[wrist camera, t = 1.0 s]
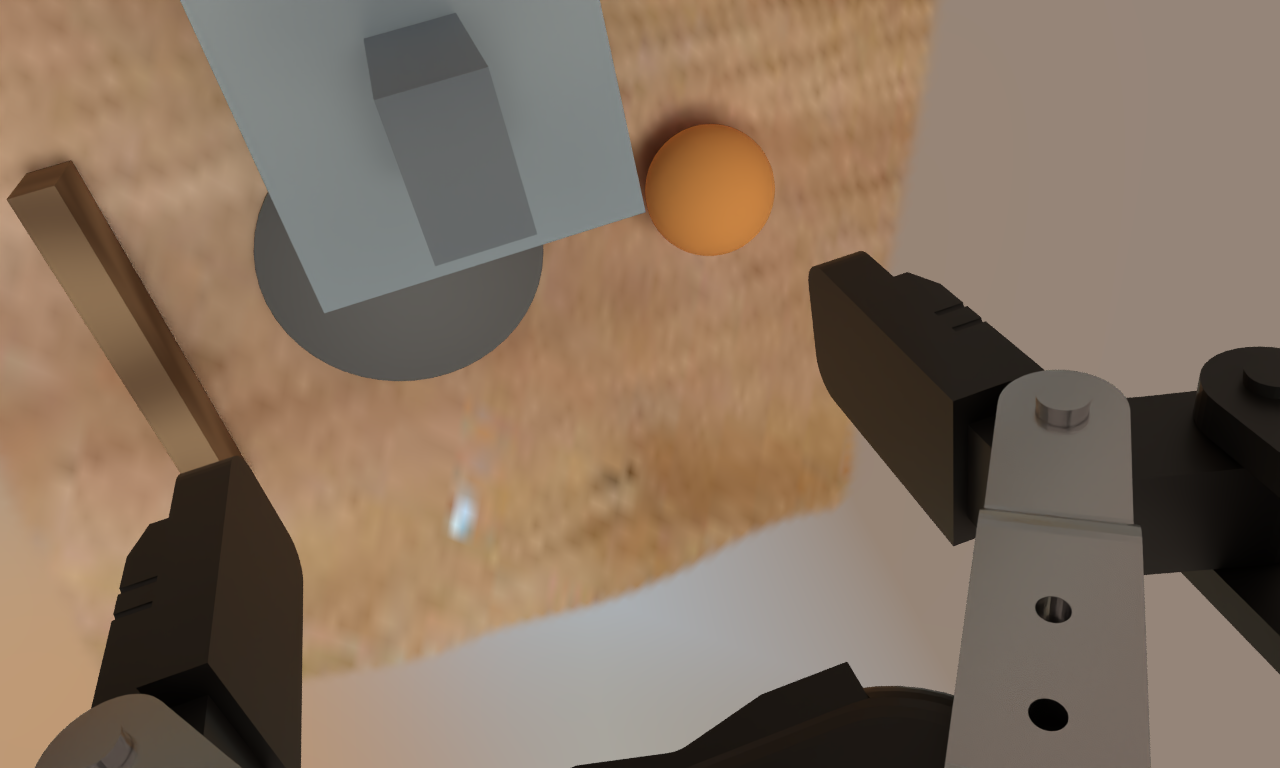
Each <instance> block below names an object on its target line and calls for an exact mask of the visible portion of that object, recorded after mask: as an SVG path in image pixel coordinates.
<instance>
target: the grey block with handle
mask: <svg viewBox="0 0 1280 768" xmlns="http://www.w3.org/2000/svg"><path fill="white" fill-rule="evenodd" d="M180 1H181V3H182V6H183V8H184V10H185V12H186V14H187V16H188V19H189V21H190V23H191V25H192V27H193V29H194V32H195V34H196V36H197V38H198V40H199V42H200V45H201V47H202V49H203V51H204V53H205V56H206V58H207V60H208V62H209V64H210V66H211V69H212V71H213V73H214V75H215V77H216V79H217V82H218V84H219V86H220V88H221V90H222V92H223V95H224V97H225V99H226V101H227V103H228V105H229V108H230V110H231V112H232V114H233V116H234V118H235V121H236V123H237V125H238V127H239V129H240V131H241V134H242V136H243V138H244V140H245V142H246V144H247V147H248V149H249V151H250V153H251V155H252V158H253V160H254V162H255V164H256V166H257V168H258V171H259V173H260V175H261V177H262V179H263V181H264V184H265V186H266V188H267V190H268V192H269V194H270V197H271V199H272V201H273V203H274V205H275V207H276V210H277V212H278V214H279V216H280V218H281V220H282V223H283V225H284V227H285V229H286V231H287V233H288V236H289V238H290V240H291V242H292V244H293V247H294V249H295V251H296V253H297V255H298V257H299V260H300V262H301V264H302V266H303V268H304V270H305V273H306V275H307V277H308V279H309V281H310V283H311V286H312V288H313V290H314V292H315V294H316V296H317V299H318V301H319V303H320V305H321V307H322V309H323V312H324V313H327V312H330V311H333V310H337V309H340V308H343V307H346V306H349V305H352V304H356V303H359V302H362V301H365V300H368V299H371V298H375V297H378V296H381V295H384V294H387V293H391V292H394V291H397V290H400V289H403V288H406V287H410V286H413V285H416V284H419V283H422V282H425V281H429V280H432V279H435V278H438V277H441V276H444V275H448V274H451V273H454V272H457V271H460V270H464V269H467V268H470V267H473V266H476V265H479V264H483V263H486V262H489V261H492V260H495V259H498V258H502V257H505V256H508V255H511V254H514V253H518V252H521V251H524V250H527V249H530V248H533V247H537V246H540V245H543V244H546V243H549V242H552V241H556V240H559V239H562V238H565V237H568V236H572V235H575V234H578V233H581V232H584V231H587V230H591V229H594V228H597V227H600V226H603V225H606V224H610V223H613V222H616V221H619V220H622V219H625V218H629V217H632V216H635V215H638V214H641V213H645V207H644V202H643V198H642V193H641V189H640V184H639V179H638V175H637V170H636V165H635V161H634V156H633V152H632V147H631V142H630V138H629V133H628V129H627V124H626V119H625V115H624V110H623V106H622V101H621V96H620V92H619V87H618V82H617V78H616V73H615V69H614V64H613V59H612V55H611V50H610V46H609V41H608V36H607V32H606V27H605V23H604V18H603V13H602V9H601V4H600V0H180Z"/></svg>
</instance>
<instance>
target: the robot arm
mask: <svg viewBox="0 0 1280 768" xmlns="http://www.w3.org/2000/svg"><path fill="white" fill-rule="evenodd" d="M808 281H809V292H810V301H811V311H812V320H813V329H814V339H815V348H816V357H817V363H818V367H819V371H820V374H821V377H822V379H823V382H824V384H825V386H826V388H827V390H828V392H829V394H830V395H831V397H832V398H833V400H834V401H835V402H836V403H837V405H838V406H839V407H840V408H841V409H842V411H843V412H844V413H845V414H846V416H847V417H848V418H849V419H850V420H851V422H852V423H853V424H854V425H855V427H856V428H857V429H858V430H859V431H860V433H861V434H862V435H863V436H864V438H865V439H866V440H867V441H868V442H869V444H870V445H871V446H872V447H873V449H874V450H875V451H876V452H877V453H878V455H879V456H880V457H881V458H882V459H883V461H884V462H885V463H886V464H887V466H888V467H889V468H890V469H891V471H892V472H893V473H894V474H895V475H896V477H897V478H898V479H899V480H900V482H902V484H903V485H904V486H905V488H906V489H907V490H908V491H909V493H910V494H911V495H912V496H913V497H914V499H915V500H916V501H917V502H918V504H919V505H920V506H921V507H922V508H923V510H924V511H925V512H926V513H927V514H928V515H929V517H930V518H931V519H932V521H933V522H934V523H935V524H936V525H937V527H938V528H939V529H940V530H941V531H942V533H943V534H944V535H945V536H946V538H947V539H948V540H949V541H950V542H951V544H952V545H953V546H956V545H958V544H961V543H963V542H966V541H969V540H972V539H974V538H975V545H974V552H973V560H972V567H971V575H970V582H969V590H968V597H967V604H966V612H965V619H964V627H963V634H962V641H961V649H960V657H959V664H958V672H957V679H956V687H955V694H954V695H951V694H947V693H944V692H939V691H933V690H929V689H924V688H915V687H903V686H875V687H867V688H863V687H862V686H861V684H860V682H859V681H858V679H857V677H856V676H855V674H854V672H853V671H852V669H851V667H850V666H849V664H848V662H845V663H842V664H840V665H837V666H835V667H832V668H829V669H827V670H824V671H822V672H819V673H817V674H814V675H811V676H809V677H806V678H803V679H801V680H798V681H796V682H793V683H790V684H788V685H785V686H783V687H780V688H777V689H775V690H772V691H770V692H767V693H764V694H762V695H760V696H759V697H758V698H756V699H754V700H753V701H751V702H750V703H748V704H747V705H745V706H744V707H743V708H741V709H740V710H738V711H737V712H735V713H734V714H732V715H731V716H730V717H728V718H727V719H725V720H724V721H722V722H721V723H720V724H718V725H716V726H715V727H714V728H712V729H711V730H709V731H708V732H706V733H705V734H703V735H702V736H701V737H699V738H698V739H696V740H695V741H693V742H692V743H690V744H689V745H687V746H686V747H684V748H682V749H680V750H678V751H675V752H671V753H666V754H658V755H651V756H644V757H637V758H629V759H622V760H615V761H607V762H600V763H592V764H585V765H579V766H574V767H572V768H1151V759H1150V732H1149V706H1148V680H1147V679H1148V678H1147V653H1146V625H1145V601H1144V599H1145V598H1144V575H1149V574H1161V573H1174V572H1181V573H1182V574H1183V575H1184V576H1185V577H1186V578H1187V579H1188V580H1189V581H1190V582H1191V583H1192V584H1193V585H1194V586H1195V587H1196V588H1197V589H1198V590H1199V591H1200V592H1201V593H1202V594H1203V595H1204V596H1205V597H1206V598H1207V599H1208V600H1209V602H1210V603H1211V604H1212V605H1213V606H1214V607H1215V608H1216V609H1217V610H1218V611H1219V612H1220V613H1221V614H1222V615H1223V616H1224V617H1225V618H1226V619H1227V620H1228V621H1229V622H1230V623H1231V624H1232V625H1233V626H1234V627H1235V628H1236V629H1237V631H1239V633H1240V634H1241V635H1242V636H1243V637H1244V638H1245V639H1246V640H1247V641H1248V642H1249V643H1250V644H1251V645H1252V646H1253V647H1254V648H1255V649H1256V650H1257V651H1258V652H1259V653H1260V654H1261V655H1262V656H1263V657H1264V658H1265V659H1266V660H1267V662H1268V663H1269V664H1270V665H1272V667H1273V668H1274V669H1275V670H1276V671H1277V672H1278V673H1279V674H1280V348H1273V347H1245V348H1237V349H1233V350H1229V351H1226V352H1223V353H1220V354H1218V355H1216V356H1214V357H1213V358H1211V359H1210V360H1209V361H1208V362H1206V363H1205V365H1204V366H1203V368H1202V369H1201V373H1200V377H1199V383H1198V388H1197V391H1191V392H1183V393H1173V394H1163V395H1154V396H1145V397H1133V398H1126V397H1125V396H1124V395H1123V393H1122V392H1121V391H1120V390H1119V389H1117V388H1116V387H1115V386H1114V385H1112V384H1110V383H1109V382H1107V381H1105V380H1103V379H1101V378H1099V377H1096V376H1093V375H1090V374H1087V373H1082V372H1078V371H1070V370H1046V371H1045V370H1044V369H1042V368H1041V367H1040V366H1039V365H1038V364H1037V363H1035V362H1034V361H1033V360H1032V359H1031V358H1029V357H1028V356H1027V355H1025V354H1024V353H1023V352H1022V351H1021V350H1019V349H1018V348H1017V347H1016V346H1015V345H1014V344H1012V343H1011V342H1010V341H1009V340H1008V339H1006V338H1005V337H1004V336H1003V335H1002V334H1000V333H999V332H998V331H997V330H995V329H994V328H993V327H992V326H990V325H989V324H988V323H987V322H982V320H981V317H980V316H979V315H977V314H976V313H975V312H974V311H972V310H971V309H970V308H969V307H968V306H966V307H964V305H963V302H962V301H960V300H959V299H958V298H957V297H956V296H954V295H953V294H952V293H951V292H950V291H948V290H947V289H946V288H945V287H943V286H942V285H941V284H939V283H936V282H934V281H931V280H928V279H925V278H922V277H920V276H917V275H914V274H911V273H908V272H906V273H903V274H900V275H897V276H894V277H893V276H892V275H891V274H890V273H889V272H888V271H887V270H885V269H884V268H883V267H882V266H881V265H880V264H879V263H877V262H876V261H875V260H874V259H873V258H872V257H871V256H870V255H868V254H867V253H866V252H863V251H859V252H856V253H853V254H850V255H847V256H844V257H841V258H838V259H835V260H832V261H829V262H826V263H823V264H819V265H816V266H814V267H812V268H811V269H810V271H809V279H808ZM119 589H120V591H121V594H119V595H118V597H117V601H116V605H115V609H114V614H113V615H114V617H115V620H113V621H112V622H111V626H110V631H109V635H108V639H107V643H106V648H105V652H104V656H103V660H102V665H101V669H100V673H99V677H98V682H97V686H96V690H95V695H94V699H93V703H92V707H91V709H90V710H88V711H87V712H85V713H84V714H82V715H81V716H79V717H78V718H77V719H75V720H74V721H73V722H71V723H70V724H69V725H68V726H67V727H66V728H65V729H63V730H62V731H61V732H60V733H59V734H58V735H57V737H56V738H55V739H54V740H53V741H52V742H51V743H50V744H49V746H48V747H47V749H46V750H45V751H44V752H43V754H42V756H41V757H40V759H39V761H38V762H37V764H36V767H35V768H301V713H302V711H301V710H302V637H303V574H302V568H301V564H300V560H299V557H298V554H297V551H296V548H295V545H294V543H293V541H292V539H291V537H290V535H289V533H288V532H287V530H286V528H285V526H284V525H283V523H282V521H281V520H280V518H279V516H278V515H277V513H276V511H275V509H274V508H273V506H272V504H271V503H270V501H269V499H268V498H267V496H266V494H265V492H264V491H263V489H262V487H261V486H260V484H259V482H258V481H257V479H256V477H255V475H254V474H253V472H252V470H251V469H250V467H249V466H248V464H247V463H246V462H245V460H244V459H243V458H241V457H240V456H233V457H230V458H227V459H224V460H221V461H218V462H215V463H211V464H208V465H205V466H202V467H199V468H196V469H193V470H190V471H187V472H184V473H181V474H180V475H178V477H177V479H176V483H175V488H174V493H173V498H172V504H171V509H170V514H169V518H167V519H164V520H161V521H158V522H155V523H152V524H149V526H148V527H147V529H146V530H145V532H144V533H143V535H142V536H141V537H140V539H139V540H138V542H137V543H136V545H135V546H134V547H133V549H132V550H131V552H130V553H129V555H128V556H127V558H126V563H125V567H124V571H123V575H122V580H121V584H120V588H119Z"/></svg>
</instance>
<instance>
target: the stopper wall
mask: <svg viewBox="0 0 1280 768" xmlns="http://www.w3.org/2000/svg"><path fill="white" fill-rule="evenodd" d="M7 201H8V202H9V204H10V206H11V207H12V209H13V210H14V212H15V213H16V215H17V217H18V218H19V220H20V221H21V223H22V224H23V226H24V228H25V229H26V231H27V232H28V234H29V235H30V237H31V239H32V240H33V242H34V243H35V245H36V246H37V248H38V250H39V251H40V253H41V254H42V256H43V257H44V259H45V261H46V262H47V264H48V265H49V267H50V268H51V270H52V272H53V273H54V275H55V276H56V278H57V280H58V281H59V283H60V284H61V286H62V287H63V289H64V291H65V292H66V294H67V295H68V297H69V298H70V300H71V302H72V303H73V305H74V306H75V308H76V309H77V311H78V313H79V314H80V316H81V317H82V319H83V320H84V322H85V324H86V325H87V327H88V328H89V330H90V331H91V333H92V335H93V336H94V338H95V339H96V341H97V343H98V344H99V346H100V347H101V349H102V350H103V352H104V354H105V355H106V357H107V358H108V360H109V361H110V363H111V365H112V366H113V368H114V369H115V371H116V372H117V374H118V376H119V377H120V379H121V380H122V382H123V383H124V385H125V387H126V388H127V390H128V391H129V393H130V394H131V396H132V398H133V399H134V401H135V402H136V404H137V405H138V407H139V409H140V410H141V412H142V413H143V415H144V417H145V418H146V420H147V421H148V423H149V424H150V426H151V428H152V429H153V431H154V432H155V434H156V435H157V437H158V439H159V440H160V442H161V443H162V445H163V446H164V448H165V450H166V451H167V453H168V454H169V456H170V457H171V459H172V461H173V462H174V464H175V465H176V467H177V468H178V470H179V472H180V473H184V472H187V471H190V470H193V469H196V468H199V467H202V466H205V465H208V464H211V463H215V462H218V461H221V460H224V459H227V458H230V457H233V456H240V457H241V458H243V457H242V455H241V453H240V452H239V450H238V448H237V446H236V445H235V443H234V441H233V440H232V438H231V436H230V434H229V433H228V431H227V429H226V427H225V426H224V424H223V422H222V421H221V419H220V417H219V415H218V414H217V412H216V410H215V408H214V407H213V405H212V403H211V401H210V400H209V398H208V396H207V395H206V393H205V391H204V389H203V388H202V386H201V384H200V382H199V381H198V379H197V377H196V376H195V374H194V372H193V370H192V369H191V367H190V365H189V363H188V362H187V360H186V358H185V356H184V355H183V353H182V351H181V350H180V348H179V346H178V344H177V343H176V341H175V339H174V337H173V336H172V334H171V332H170V331H169V329H168V327H167V325H166V324H165V322H164V320H163V318H162V317H161V315H160V313H159V311H158V310H157V308H156V306H155V305H154V303H153V301H152V299H151V298H150V296H149V294H148V292H147V291H146V289H145V287H144V286H143V284H142V282H141V280H140V279H139V277H138V275H137V273H136V272H135V270H134V268H133V266H132V265H131V263H130V261H129V260H128V258H127V256H126V254H125V253H124V251H123V249H122V247H121V246H120V244H119V242H118V241H117V239H116V237H115V235H114V234H113V232H112V230H111V228H110V227H109V225H108V223H107V221H106V220H105V218H104V216H103V215H102V213H101V211H100V209H99V208H98V206H97V204H96V202H95V201H94V199H93V197H92V196H91V194H90V192H89V190H88V189H87V187H86V185H85V183H84V182H83V180H82V178H81V176H80V175H79V173H78V171H77V170H76V168H75V166H74V164H73V163H72V161H69V162H65V163H62V164H58V165H55V166H51V167H48V168H44V169H41V170H37V171H34V172H30V173H27V174H26V175H25V176H24V178H23V179H22V180H21V182H20V183H19V184H18V185H17V187H16V188H15V189H14V191H13V192H12V193H11V195H10V196H9V197H8V198H7Z"/></svg>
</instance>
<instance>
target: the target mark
mask: <svg viewBox="0 0 1280 768" xmlns="http://www.w3.org/2000/svg"><path fill="white" fill-rule="evenodd" d="M254 260H255V270H256V274H257V278H258V282H259V286H260V289H261V291H262V294H263V296H264V299H265V301H266V304H267V305H268V307H269V309H270V310H271V312H272V314H273V315H274V317H275V319H276V320H277V321H278V323H279V324H280V325H281V326H282V328H283V329H284V330H285V331H286V333H287V334H288V335H289V336H290V337H291V338H292V339H293V340H295V341H296V342H297V343H298V344H299V345H300V346H301V347H302V348H304V349H305V350H306V351H308V352H309V353H310V354H312V355H313V356H315V357H316V358H318V359H320V360H322V361H323V362H325V363H327V364H329V365H331V366H333V367H335V368H338V369H340V370H342V371H345V372H348V373H351V374H355V375H358V376H361V377H366V378H372V379H377V380H388V381H413V380H421V379H427V378H433V377H437V376H441V375H444V374H448V373H451V372H453V371H456V370H459V369H461V368H464V367H466V366H468V365H470V364H472V363H473V362H475V361H477V360H479V359H481V358H482V357H484V356H485V355H487V354H488V353H489V352H491V351H492V350H494V349H495V348H496V347H497V346H498V345H499V344H501V343H502V342H503V341H504V340H505V339H506V338H507V337H508V336H509V335H510V334H511V333H512V331H513V330H514V329H515V328H516V327H517V326H518V324H519V323H520V321H521V320H522V318H523V317H524V315H525V314H526V312H527V310H528V308H529V306H530V305H531V303H532V301H533V299H534V296H535V293H536V290H537V287H538V285H539V280H540V276H541V271H542V263H543V245H540V246H537V247H533V248H530V249H527V250H524V251H521V252H518V253H514V254H511V255H508V256H505V257H502V258H498V259H495V260H492V261H489V262H486V263H483V264H479V265H476V266H473V267H470V268H467V269H464V270H460V271H457V272H454V273H451V274H448V275H444V276H441V277H438V278H435V279H432V280H429V281H425V282H422V283H419V284H416V285H413V286H410V287H406V288H403V289H400V290H397V291H394V292H391V293H387V294H384V295H381V296H378V297H375V298H371V299H368V300H365V301H362V302H359V303H356V304H352V305H349V306H346V307H343V308H340V309H337V310H333V311H330V312H327V313H324V312H323V309H322V307H321V305H320V303H319V301H318V299H317V296H316V294H315V292H314V290H313V288H312V286H311V283H310V281H309V279H308V277H307V275H306V273H305V270H304V268H303V266H302V264H301V262H300V260H299V257H298V255H297V253H296V251H295V249H294V247H293V244H292V242H291V240H290V238H289V236H288V233H287V231H286V229H285V227H284V225H283V223H282V220H281V218H280V216H279V214H278V212H277V210H276V207H275V205H274V203H273V201H272V199H271V197H270V194H269V192H268V194H267V195H266V197H265V200H264V202H263V205H262V208H261V210H260V213H259V216H258V221H257V226H256V230H255V239H254Z"/></svg>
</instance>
